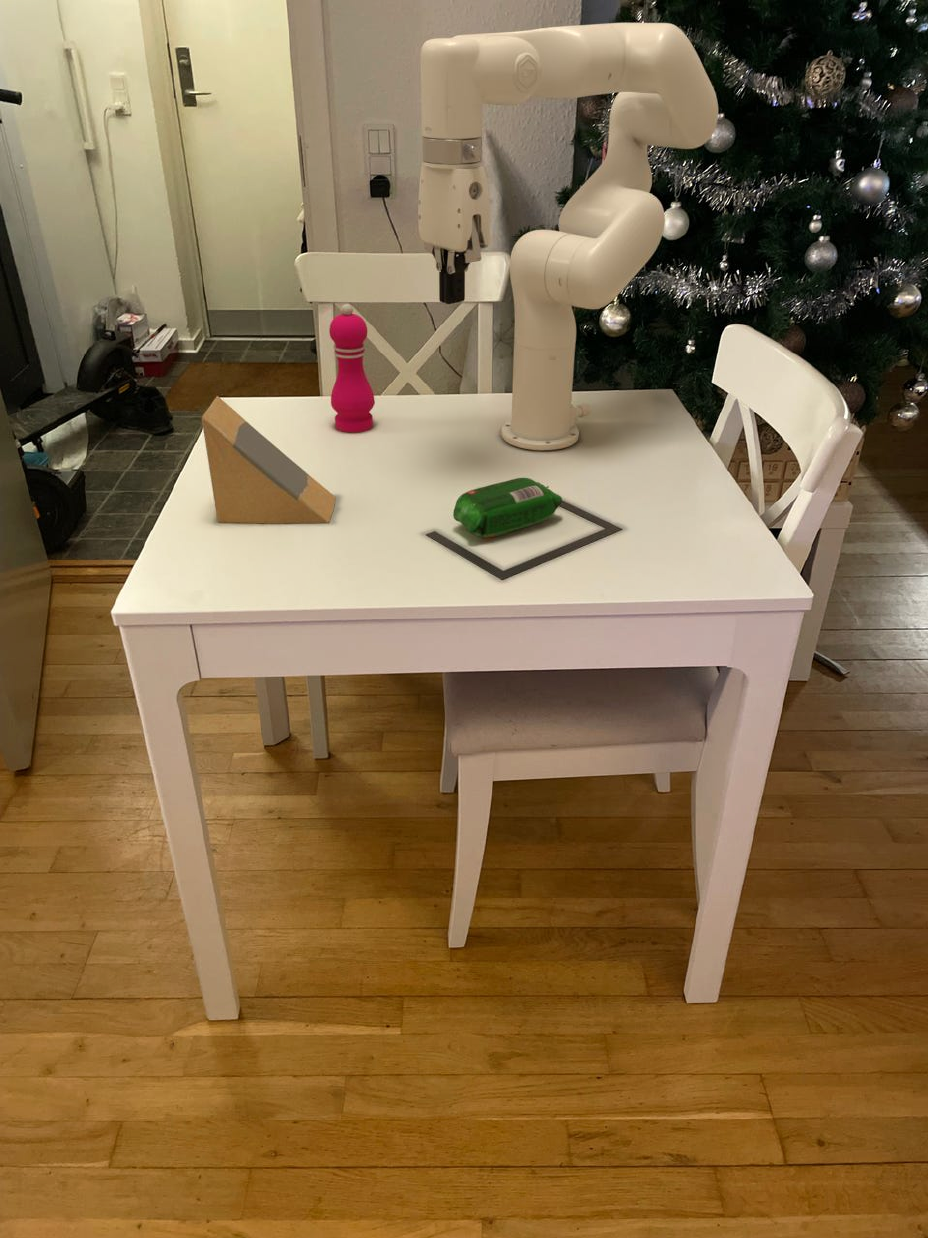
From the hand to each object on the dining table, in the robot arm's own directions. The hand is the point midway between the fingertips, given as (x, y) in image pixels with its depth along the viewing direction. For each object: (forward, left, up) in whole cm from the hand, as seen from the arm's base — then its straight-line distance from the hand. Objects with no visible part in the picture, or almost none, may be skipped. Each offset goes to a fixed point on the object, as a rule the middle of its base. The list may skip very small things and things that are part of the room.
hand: (452, 301), depth 129 cm
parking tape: (+5, +22, -25) cm, 33 cm away
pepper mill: (+1, -25, -25) cm, 36 cm away
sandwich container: (+27, -5, -25) cm, 37 cm away
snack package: (+5, +18, -25) cm, 32 cm away
